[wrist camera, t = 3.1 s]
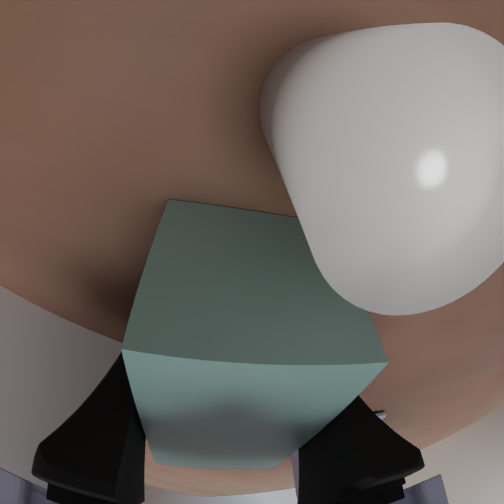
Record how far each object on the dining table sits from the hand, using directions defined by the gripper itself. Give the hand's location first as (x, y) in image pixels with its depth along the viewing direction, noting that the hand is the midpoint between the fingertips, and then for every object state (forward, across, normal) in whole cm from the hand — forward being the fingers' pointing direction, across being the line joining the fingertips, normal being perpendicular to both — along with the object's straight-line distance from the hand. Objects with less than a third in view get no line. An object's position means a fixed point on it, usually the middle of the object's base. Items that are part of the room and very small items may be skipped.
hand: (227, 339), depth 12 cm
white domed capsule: (+2, -2, -9) cm, 9 cm away
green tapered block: (+2, 0, 0) cm, 2 cm away
